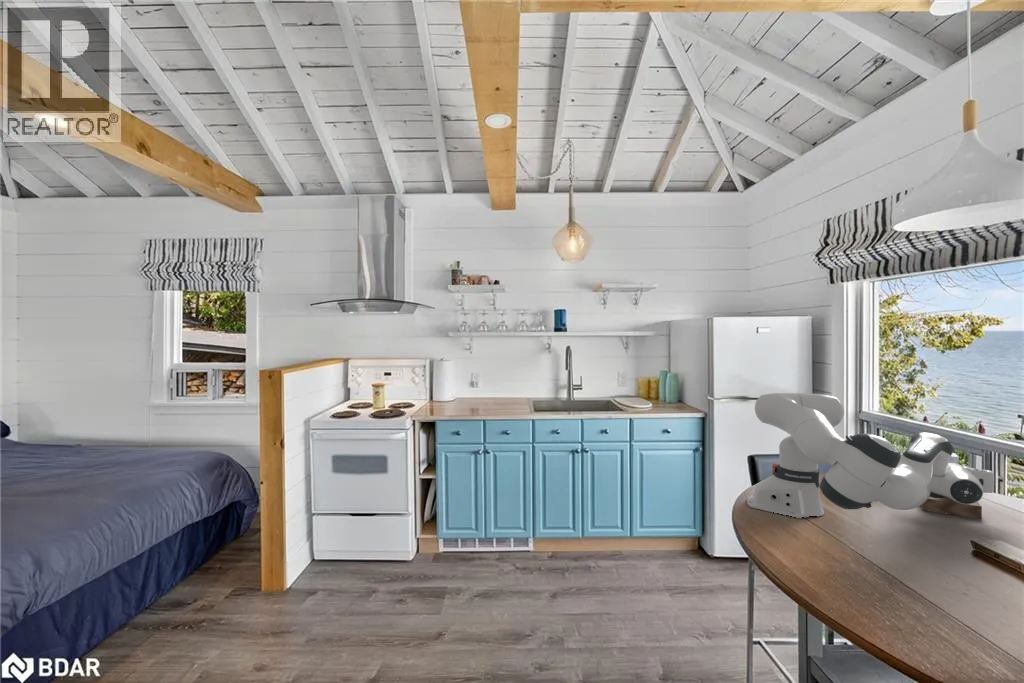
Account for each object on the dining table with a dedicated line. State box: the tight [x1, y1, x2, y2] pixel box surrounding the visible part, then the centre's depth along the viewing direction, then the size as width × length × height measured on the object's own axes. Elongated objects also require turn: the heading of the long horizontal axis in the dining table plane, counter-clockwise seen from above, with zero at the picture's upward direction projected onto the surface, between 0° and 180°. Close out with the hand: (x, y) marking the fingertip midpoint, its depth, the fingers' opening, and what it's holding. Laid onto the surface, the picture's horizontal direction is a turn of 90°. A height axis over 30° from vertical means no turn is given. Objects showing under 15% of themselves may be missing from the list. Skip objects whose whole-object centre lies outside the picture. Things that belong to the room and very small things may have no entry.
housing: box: [949, 452, 960, 465], centre depth 157 cm, size 5×6×12 cm
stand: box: [919, 497, 983, 520], centre depth 157 cm, size 14×16×4 cm
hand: (946, 467), depth 158 cm, fingers closed on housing, 5 cm apart
